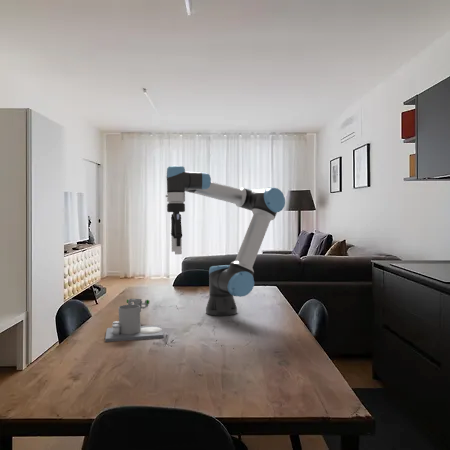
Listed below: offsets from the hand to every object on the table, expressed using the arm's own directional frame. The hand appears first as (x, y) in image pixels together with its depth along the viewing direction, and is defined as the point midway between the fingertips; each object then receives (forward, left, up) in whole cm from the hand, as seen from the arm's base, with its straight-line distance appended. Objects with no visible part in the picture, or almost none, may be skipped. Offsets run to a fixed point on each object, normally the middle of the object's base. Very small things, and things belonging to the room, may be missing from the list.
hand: (176, 252), depth 187 cm
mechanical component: (+16, -14, -32) cm, 38 cm away
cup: (+20, +7, -31) cm, 37 cm away
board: (+18, +7, -32) cm, 37 cm away
